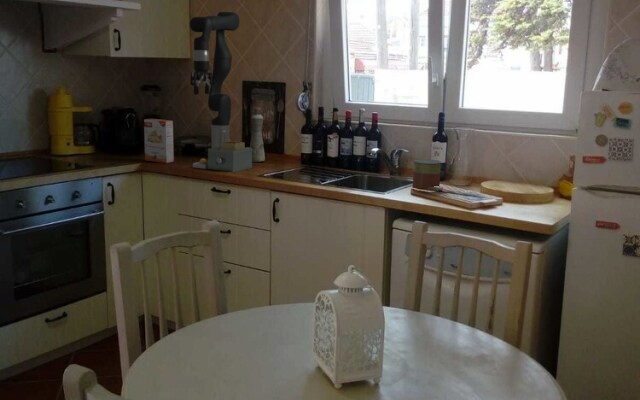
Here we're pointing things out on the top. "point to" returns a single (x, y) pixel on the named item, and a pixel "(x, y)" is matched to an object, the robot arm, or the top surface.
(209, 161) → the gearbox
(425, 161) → the canned food
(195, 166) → the bead dish
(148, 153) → the cracker box
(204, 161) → the bead
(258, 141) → the bottle
